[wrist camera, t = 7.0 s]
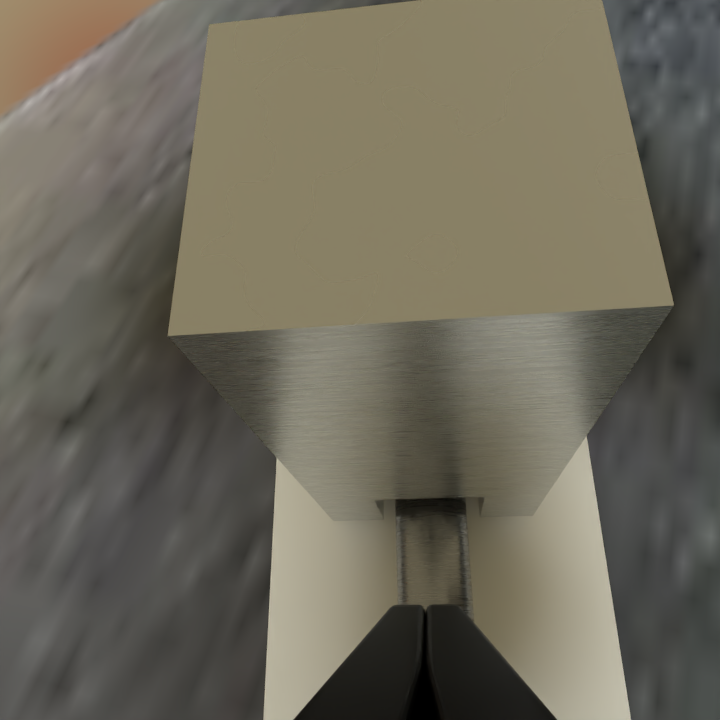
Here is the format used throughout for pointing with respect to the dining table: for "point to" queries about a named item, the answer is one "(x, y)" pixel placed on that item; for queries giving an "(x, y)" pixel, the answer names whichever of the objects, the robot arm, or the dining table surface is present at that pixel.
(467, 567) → the steel pipe
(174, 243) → the dining table surface
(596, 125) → the beige tall block
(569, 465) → the base board
